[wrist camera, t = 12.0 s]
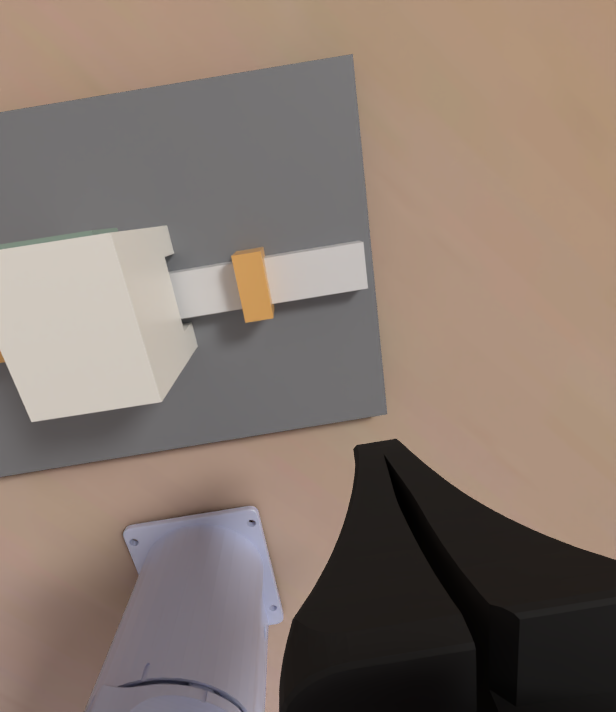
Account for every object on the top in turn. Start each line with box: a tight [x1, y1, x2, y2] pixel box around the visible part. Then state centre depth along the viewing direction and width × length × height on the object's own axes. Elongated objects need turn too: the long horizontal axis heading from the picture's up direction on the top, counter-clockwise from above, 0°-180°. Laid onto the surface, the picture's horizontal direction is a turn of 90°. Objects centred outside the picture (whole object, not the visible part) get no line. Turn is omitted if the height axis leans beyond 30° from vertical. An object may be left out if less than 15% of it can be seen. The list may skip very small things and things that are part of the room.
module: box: [0, 225, 198, 422], centre depth 16 cm, size 6×4×6 cm
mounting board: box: [0, 54, 387, 477], centre depth 18 cm, size 16×22×3 cm
